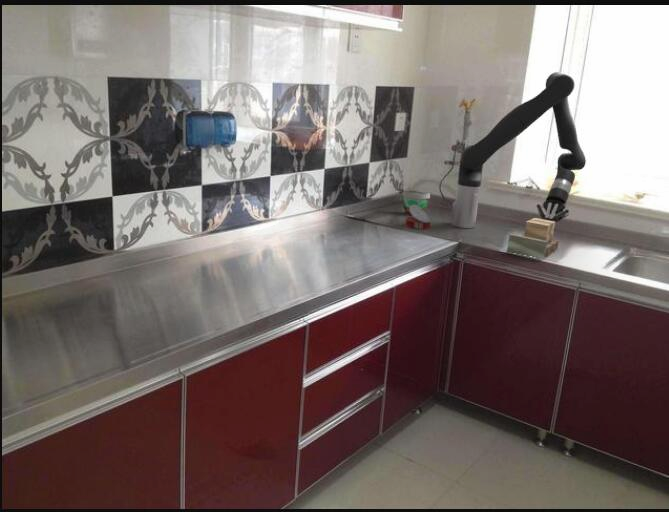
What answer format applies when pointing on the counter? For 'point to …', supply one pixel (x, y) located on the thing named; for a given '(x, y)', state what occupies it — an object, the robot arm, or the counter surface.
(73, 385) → the counter surface
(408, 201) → the food container
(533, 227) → the cardboard box
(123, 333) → the counter surface
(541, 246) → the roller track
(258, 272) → the counter surface
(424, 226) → the canned food
